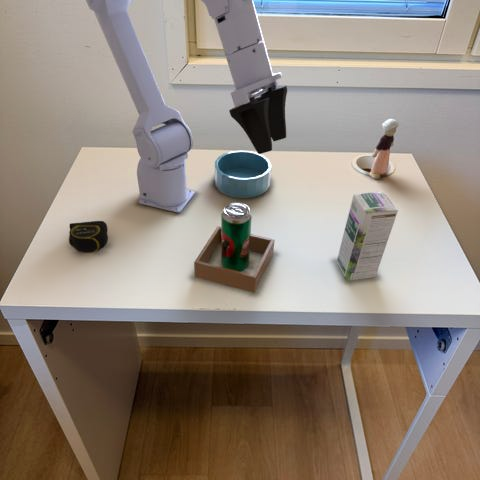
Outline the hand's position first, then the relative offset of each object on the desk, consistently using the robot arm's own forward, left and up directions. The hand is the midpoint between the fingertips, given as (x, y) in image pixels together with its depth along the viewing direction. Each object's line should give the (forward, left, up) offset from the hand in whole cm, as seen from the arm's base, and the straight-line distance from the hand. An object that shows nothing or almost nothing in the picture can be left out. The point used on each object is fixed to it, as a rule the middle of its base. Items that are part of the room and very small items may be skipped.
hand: (273, 145), depth 72 cm
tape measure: (-32, -9, -22) cm, 40 cm away
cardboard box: (-4, -5, -21) cm, 22 cm away
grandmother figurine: (+16, +38, -22) cm, 47 cm away
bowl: (-12, +22, -21) cm, 33 cm away
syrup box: (+17, +2, -22) cm, 28 cm away
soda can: (-4, -5, -22) cm, 23 cm away
